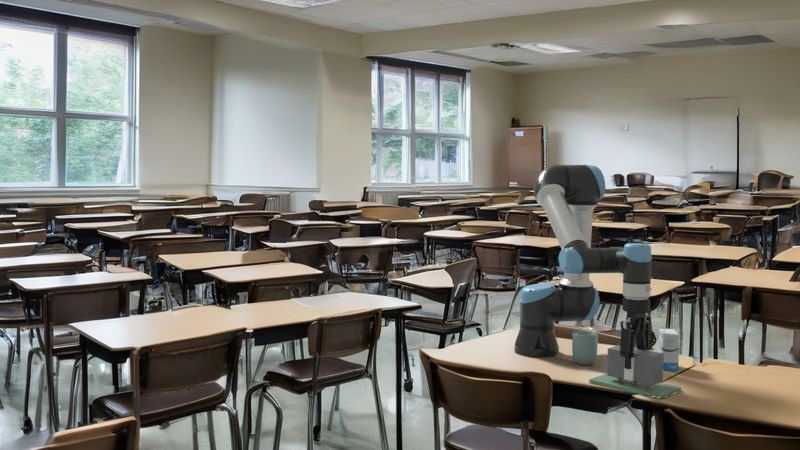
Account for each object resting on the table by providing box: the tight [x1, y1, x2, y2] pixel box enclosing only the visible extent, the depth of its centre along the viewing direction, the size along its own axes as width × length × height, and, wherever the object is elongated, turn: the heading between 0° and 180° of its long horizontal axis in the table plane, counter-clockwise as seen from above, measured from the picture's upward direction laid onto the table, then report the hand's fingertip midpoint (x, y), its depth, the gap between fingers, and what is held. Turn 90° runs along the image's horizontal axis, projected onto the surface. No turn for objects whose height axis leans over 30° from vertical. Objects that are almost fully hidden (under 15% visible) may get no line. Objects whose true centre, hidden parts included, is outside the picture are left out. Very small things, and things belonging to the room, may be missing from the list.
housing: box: [606, 344, 664, 385], centre depth 203 cm, size 14×6×8 cm, turn 44°
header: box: [588, 372, 682, 398], centre depth 204 cm, size 22×12×6 cm, turn 44°
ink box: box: [658, 328, 680, 372], centre depth 225 cm, size 8×5×12 cm, turn 168°
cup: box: [571, 330, 599, 366], centre depth 230 cm, size 8×8×10 cm
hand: (634, 377), depth 204 cm, fingers closed on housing, 6 cm apart
